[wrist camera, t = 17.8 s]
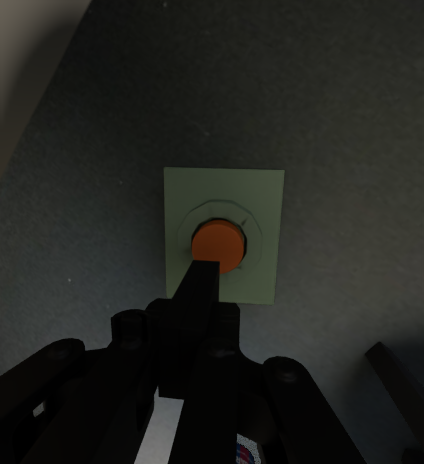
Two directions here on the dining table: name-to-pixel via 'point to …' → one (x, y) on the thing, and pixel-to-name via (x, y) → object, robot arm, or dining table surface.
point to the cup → (243, 456)
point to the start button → (219, 244)
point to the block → (231, 210)
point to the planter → (401, 394)
